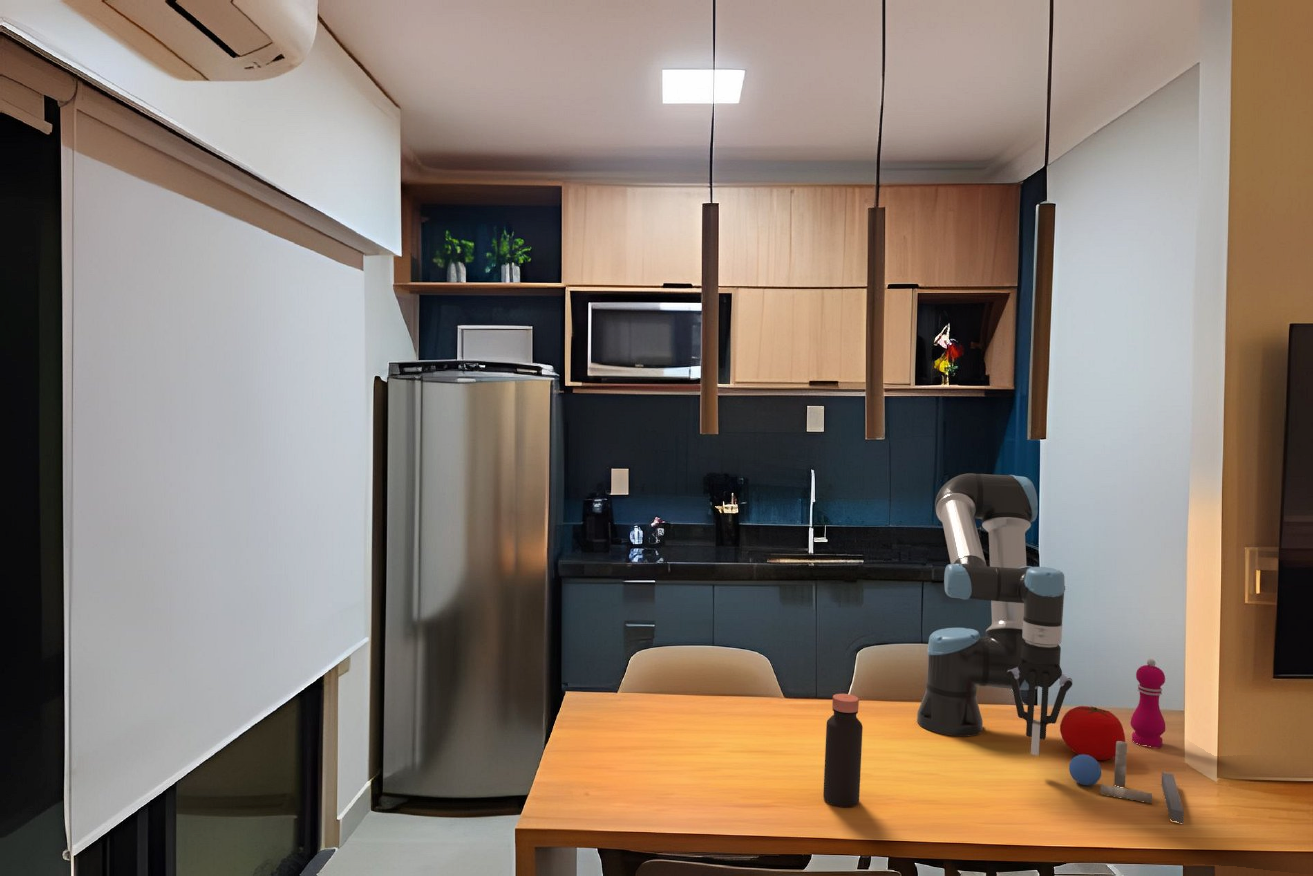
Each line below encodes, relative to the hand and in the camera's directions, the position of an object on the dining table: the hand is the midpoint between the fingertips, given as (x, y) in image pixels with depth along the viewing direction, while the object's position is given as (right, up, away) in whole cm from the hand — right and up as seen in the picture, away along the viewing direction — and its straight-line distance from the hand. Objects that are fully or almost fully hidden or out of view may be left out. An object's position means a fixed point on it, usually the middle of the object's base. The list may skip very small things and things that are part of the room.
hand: (1034, 752), depth 186 cm
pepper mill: (+36, -6, +22) cm, 43 cm away
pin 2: (+10, -5, -8) cm, 14 cm away
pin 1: (+16, -6, -4) cm, 17 cm away
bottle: (-44, -4, -16) cm, 47 cm away
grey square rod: (+22, -6, -11) cm, 26 cm away
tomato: (+18, -6, +13) cm, 23 cm away
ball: (+9, -2, -4) cm, 10 cm away
